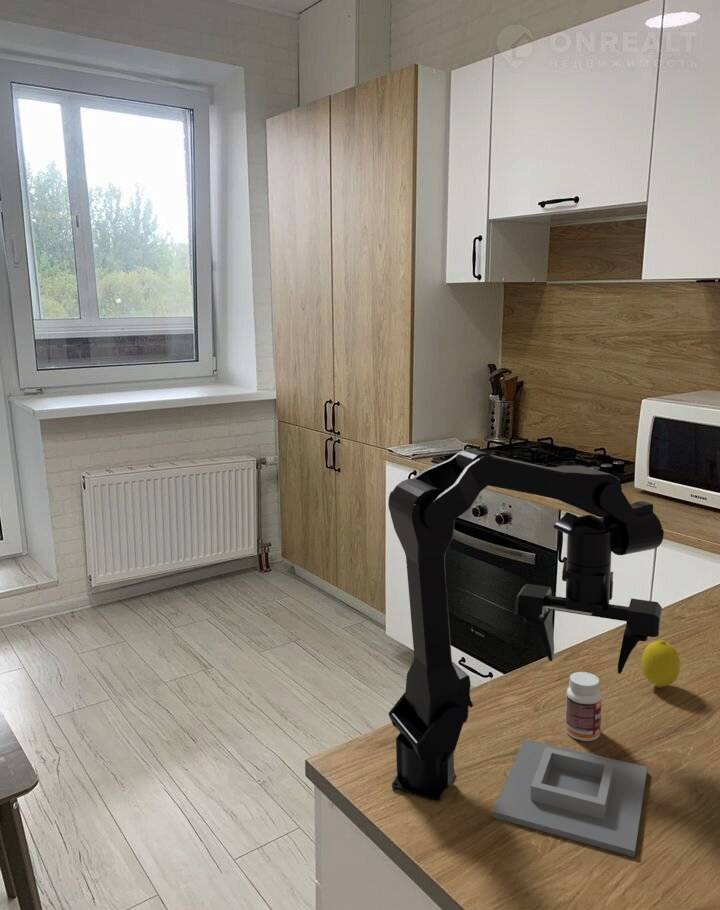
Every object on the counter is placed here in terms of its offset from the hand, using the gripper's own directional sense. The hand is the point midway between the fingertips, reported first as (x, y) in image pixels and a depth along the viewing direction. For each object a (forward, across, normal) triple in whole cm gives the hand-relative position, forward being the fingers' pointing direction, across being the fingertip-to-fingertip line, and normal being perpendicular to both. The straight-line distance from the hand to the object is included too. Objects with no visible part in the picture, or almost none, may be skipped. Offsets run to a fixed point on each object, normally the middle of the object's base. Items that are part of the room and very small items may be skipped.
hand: (584, 666), depth 101 cm
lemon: (+10, -9, -17) cm, 22 cm away
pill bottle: (+10, 0, 0) cm, 11 cm away
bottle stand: (+10, -1, +14) cm, 17 cm away
